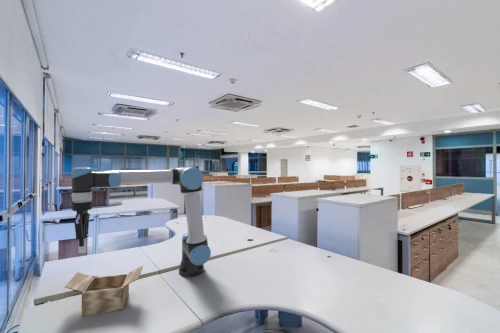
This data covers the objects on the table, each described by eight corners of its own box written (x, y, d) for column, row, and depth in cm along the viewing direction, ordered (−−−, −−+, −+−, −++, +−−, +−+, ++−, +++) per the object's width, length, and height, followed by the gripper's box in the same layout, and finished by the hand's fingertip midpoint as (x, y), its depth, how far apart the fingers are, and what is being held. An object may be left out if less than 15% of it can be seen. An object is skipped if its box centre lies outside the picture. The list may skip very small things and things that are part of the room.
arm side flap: (129, 273, 121) (142, 266, 122) (123, 287, 108) (138, 278, 109) (128, 272, 120) (142, 265, 122) (123, 286, 108) (138, 278, 109)
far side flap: (81, 292, 103) (64, 287, 101) (92, 277, 116) (77, 272, 114) (82, 291, 103) (64, 286, 101) (92, 276, 116) (77, 272, 114)
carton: (128, 292, 121) (129, 273, 121) (122, 310, 107) (122, 288, 107) (92, 297, 117) (92, 277, 116) (81, 316, 102) (81, 293, 102)
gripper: (78, 199, 114) (78, 248, 115) (66, 204, 102) (66, 258, 102) (96, 198, 116) (96, 246, 117) (86, 203, 104) (87, 257, 105)
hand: (82, 252), depth 110 cm, fingers closed
